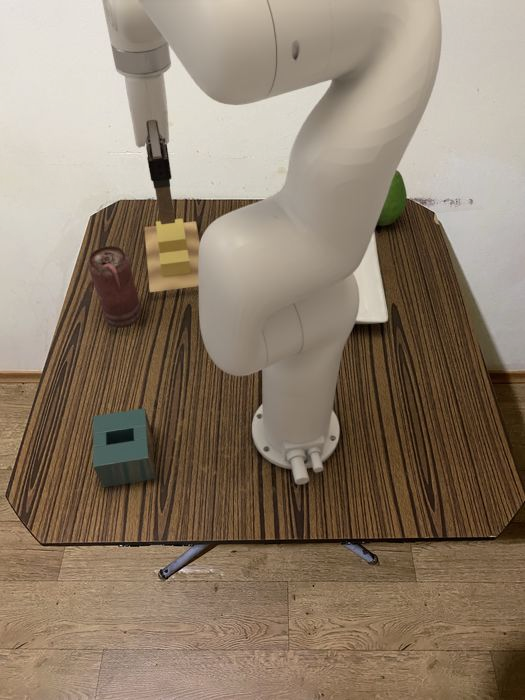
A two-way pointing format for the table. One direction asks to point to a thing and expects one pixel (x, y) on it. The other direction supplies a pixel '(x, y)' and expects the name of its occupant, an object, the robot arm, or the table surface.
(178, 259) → the block
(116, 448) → the stand
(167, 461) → the table surface
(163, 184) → the knife
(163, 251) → the butter block
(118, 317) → the can
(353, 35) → the robot arm
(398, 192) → the fruit
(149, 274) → the butter board
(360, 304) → the square plate
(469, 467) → the table surface
